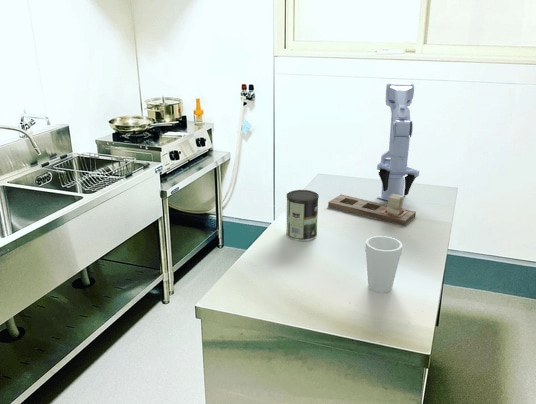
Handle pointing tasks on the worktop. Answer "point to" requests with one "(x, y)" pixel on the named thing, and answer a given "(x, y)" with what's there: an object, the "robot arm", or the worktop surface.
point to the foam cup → (382, 262)
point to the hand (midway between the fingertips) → (395, 192)
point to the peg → (395, 204)
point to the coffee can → (302, 215)
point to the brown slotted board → (379, 213)
